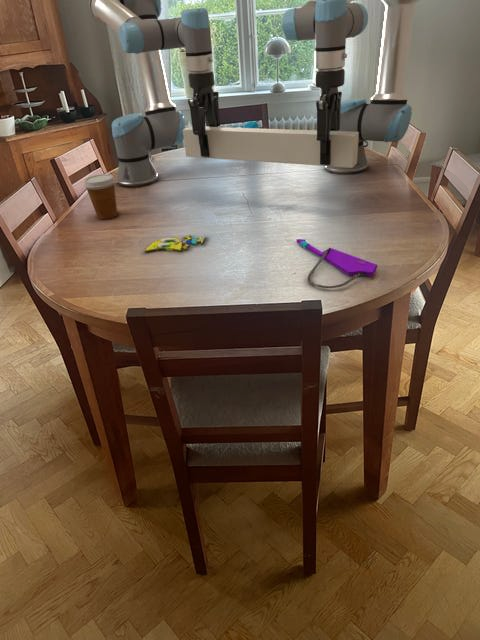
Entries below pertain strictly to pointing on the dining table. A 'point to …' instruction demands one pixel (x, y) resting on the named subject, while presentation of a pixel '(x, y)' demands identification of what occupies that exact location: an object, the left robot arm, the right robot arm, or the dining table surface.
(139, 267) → the dining table surface
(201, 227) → the dining table surface
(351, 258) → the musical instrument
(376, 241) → the dining table surface
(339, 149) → the bar
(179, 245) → the toy
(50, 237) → the dining table surface
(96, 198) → the disposable coffee cup
